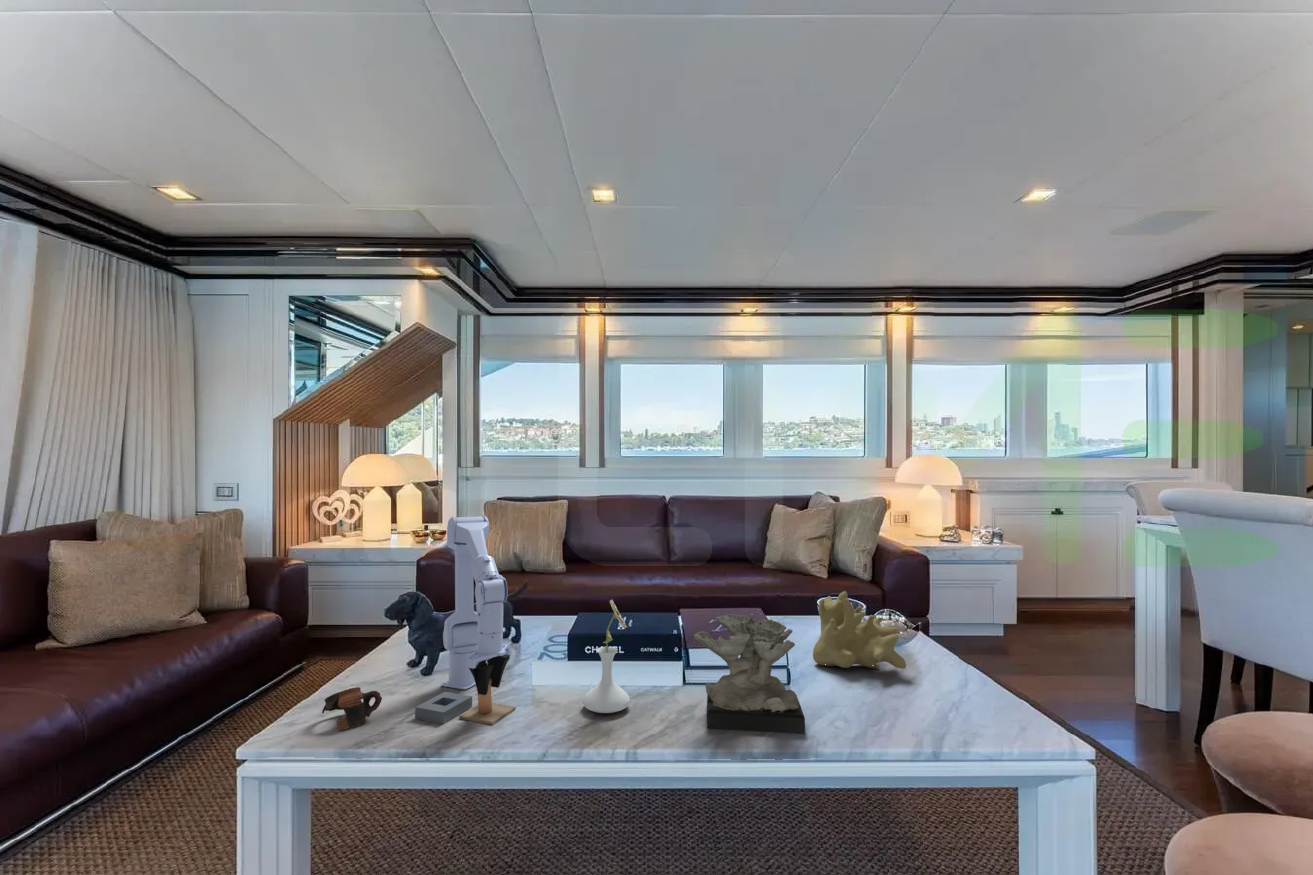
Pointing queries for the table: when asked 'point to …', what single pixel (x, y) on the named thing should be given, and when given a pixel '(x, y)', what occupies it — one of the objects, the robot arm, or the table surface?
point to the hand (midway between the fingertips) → (488, 690)
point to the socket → (443, 707)
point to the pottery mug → (352, 706)
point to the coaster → (488, 714)
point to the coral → (751, 678)
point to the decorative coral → (853, 637)
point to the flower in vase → (607, 679)
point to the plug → (485, 700)
